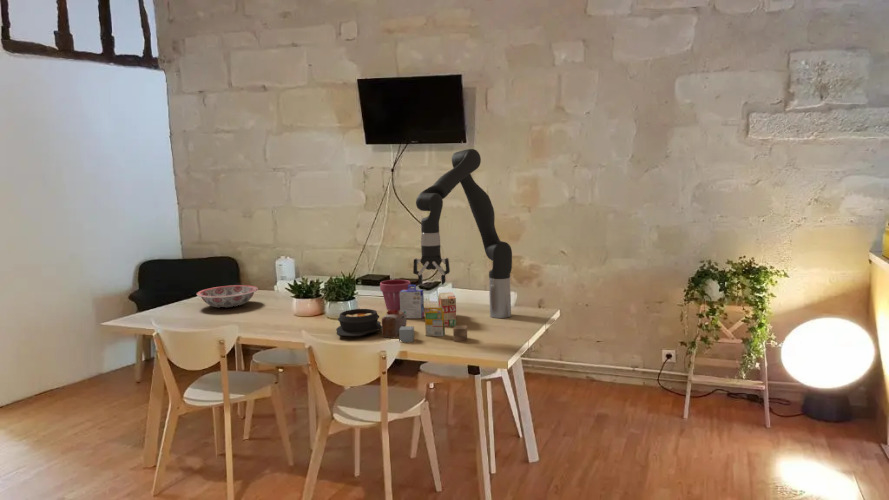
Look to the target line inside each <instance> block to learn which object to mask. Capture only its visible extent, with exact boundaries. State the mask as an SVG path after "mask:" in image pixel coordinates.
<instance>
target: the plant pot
mask: <svg viewBox="0 0 889 500" xmlns="http://www.w3.org/2000/svg"><path fill="white" fill-rule="evenodd" d="M408 285H412V283H411V281H410V280H407V279H387V280H383V281H380V283H379V289H380V292H382V296H383V300H384V303H385V307H386V310H387V311H388V310H389V311H390V310H399V311H400V291H402V290H408ZM409 288H412V286H410V287H409Z"/></svg>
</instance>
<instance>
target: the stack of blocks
mask: <svg viewBox="0 0 889 500" xmlns="http://www.w3.org/2000/svg"><path fill="white" fill-rule="evenodd" d="M438 293H439V294H438V295H437V303H438V305H437V308H442V311H444V326H445V327H447V328H448V327H454V326H457V297H456V295H455V293H454V292H453V291H449V292H446V291H445V292H438Z"/></svg>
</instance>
